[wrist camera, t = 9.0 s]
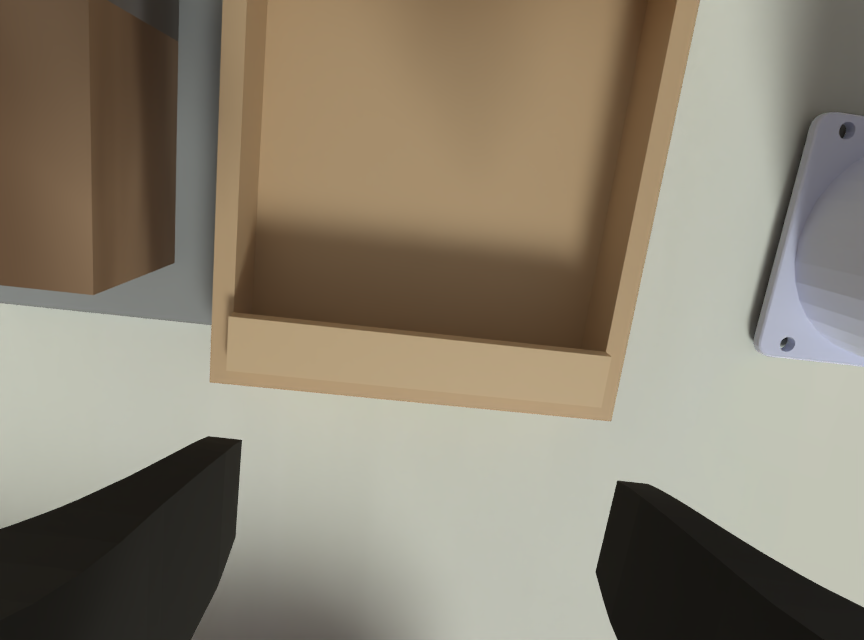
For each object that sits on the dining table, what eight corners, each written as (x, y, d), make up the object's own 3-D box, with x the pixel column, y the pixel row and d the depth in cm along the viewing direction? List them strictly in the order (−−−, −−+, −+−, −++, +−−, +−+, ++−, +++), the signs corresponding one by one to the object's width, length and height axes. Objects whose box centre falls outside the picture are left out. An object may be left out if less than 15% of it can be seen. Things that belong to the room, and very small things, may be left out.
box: (179, -16, 17) (87, -93, 12) (174, 263, 18) (93, 295, 14) (32, -37, 16) (-125, -125, 11) (43, 248, 18) (-89, 275, 13)
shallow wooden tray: (674, -59, 17) (731, -108, 14) (585, 390, 21) (616, 428, 18) (255, -127, 16) (222, -194, 13) (234, 355, 20) (204, 388, 17)
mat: (239, -85, 17) (235, -91, 16) (223, 322, 19) (219, 325, 19) (-20, -125, 16) (-30, -133, 16) (3, 299, 19) (-6, 302, 19)
